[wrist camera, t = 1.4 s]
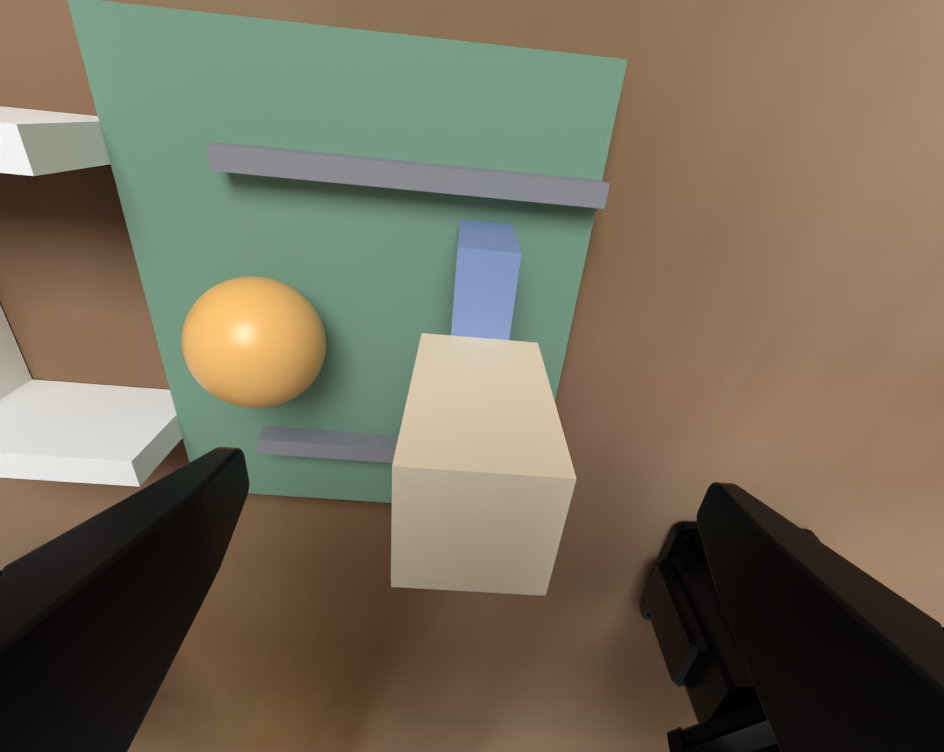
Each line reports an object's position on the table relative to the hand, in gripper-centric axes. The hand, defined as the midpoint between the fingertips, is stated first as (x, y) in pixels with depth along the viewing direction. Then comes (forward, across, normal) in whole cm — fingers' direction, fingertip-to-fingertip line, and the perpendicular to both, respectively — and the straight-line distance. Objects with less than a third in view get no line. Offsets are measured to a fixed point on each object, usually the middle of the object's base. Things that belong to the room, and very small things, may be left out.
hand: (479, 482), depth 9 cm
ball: (+5, +6, 0) cm, 8 cm away
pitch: (+8, +4, 0) cm, 9 cm away
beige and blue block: (+6, 0, 0) cm, 6 cm away
